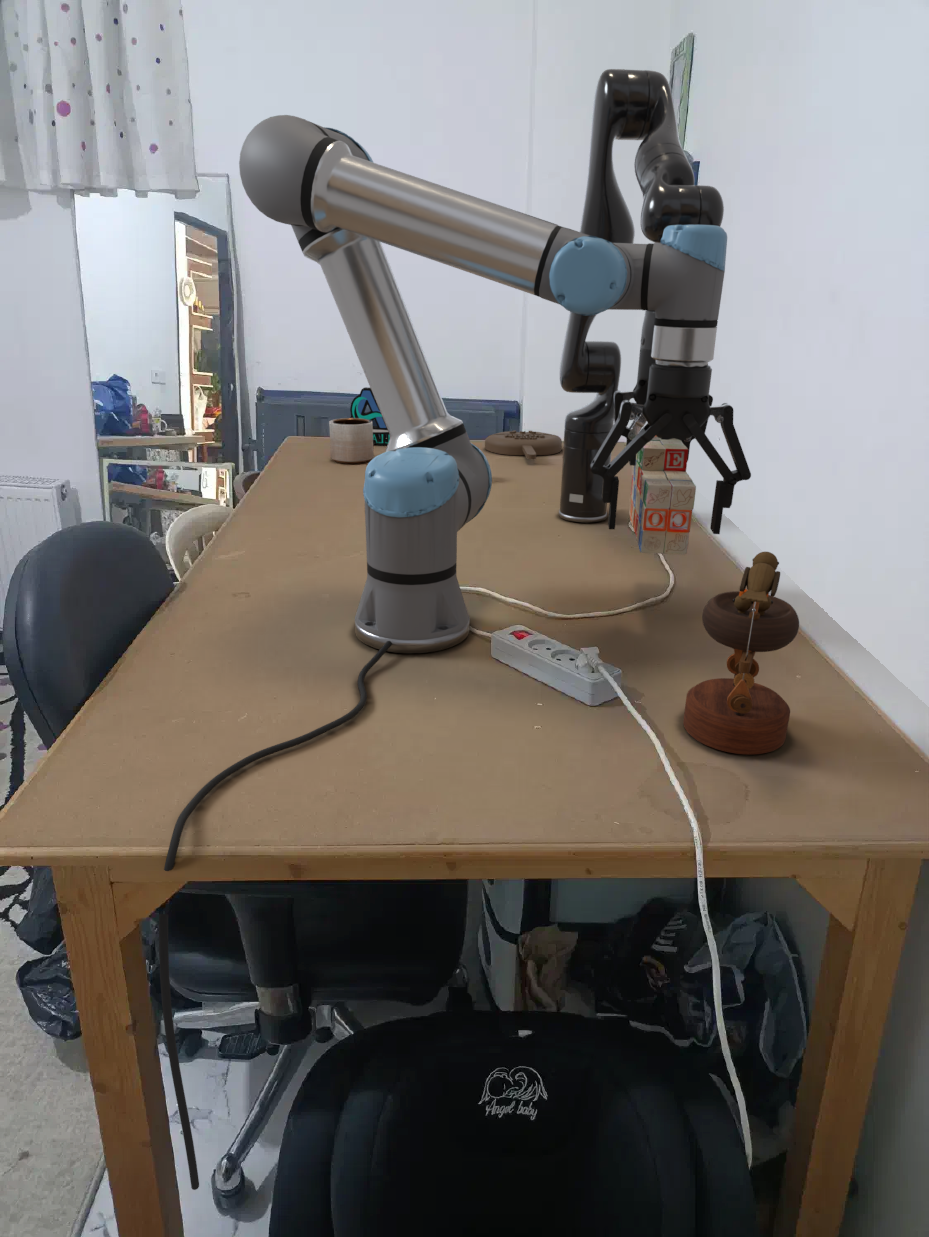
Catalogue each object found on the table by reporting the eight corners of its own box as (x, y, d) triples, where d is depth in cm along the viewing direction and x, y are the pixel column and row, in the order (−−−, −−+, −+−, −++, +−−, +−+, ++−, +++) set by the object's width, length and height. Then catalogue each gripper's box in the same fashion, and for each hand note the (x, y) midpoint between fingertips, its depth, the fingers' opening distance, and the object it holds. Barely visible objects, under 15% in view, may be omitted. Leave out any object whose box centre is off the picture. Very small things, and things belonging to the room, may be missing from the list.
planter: (327, 456, 217) (325, 418, 214) (369, 454, 220) (368, 417, 217) (334, 465, 208) (332, 425, 204) (377, 463, 211) (376, 424, 207)
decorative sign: (402, 443, 235) (401, 388, 229) (401, 445, 232) (400, 389, 227) (334, 442, 236) (332, 386, 230) (333, 443, 233) (330, 387, 228)
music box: (807, 766, 83) (825, 574, 75) (692, 766, 84) (698, 577, 77) (772, 695, 97) (784, 526, 89) (674, 696, 98) (678, 530, 91)
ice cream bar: (490, 464, 211) (490, 447, 209) (483, 443, 237) (483, 428, 235) (573, 465, 212) (575, 448, 210) (557, 444, 238) (558, 429, 236)
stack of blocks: (688, 556, 110) (699, 462, 105) (639, 554, 111) (648, 460, 106) (669, 513, 130) (677, 433, 125) (627, 512, 130) (634, 431, 126)
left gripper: (777, 362, 107) (752, 525, 115) (578, 357, 109) (568, 517, 117) (792, 369, 100) (765, 541, 108) (580, 362, 102) (568, 532, 110)
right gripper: (716, 345, 120) (701, 461, 127) (613, 342, 121) (604, 458, 128) (725, 349, 113) (709, 473, 120) (617, 347, 114) (607, 469, 121)
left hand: (662, 529), depth 112 cm, fingers open, 13 cm apart
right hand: (655, 465), depth 124 cm, fingers closed on stack of blocks, 6 cm apart
